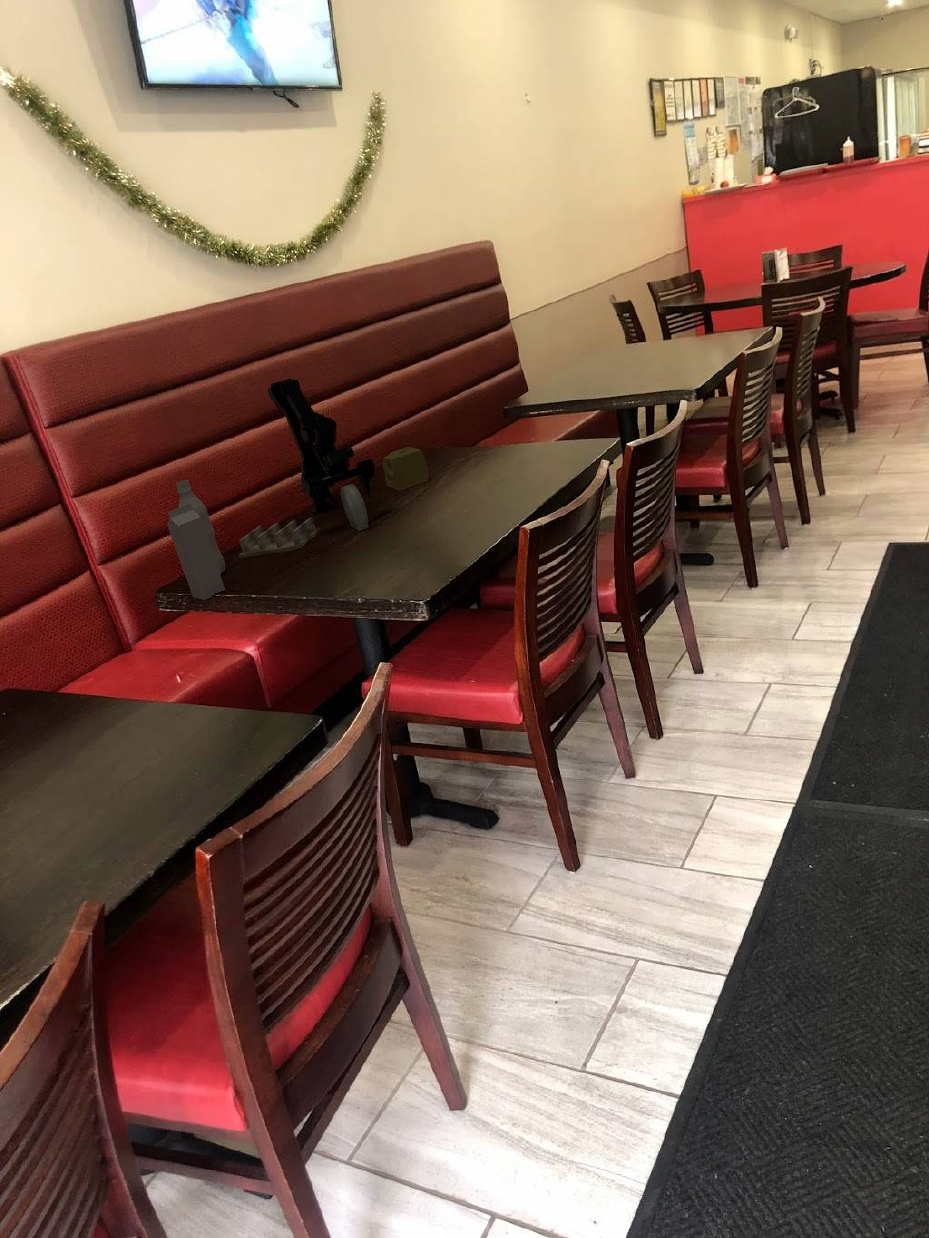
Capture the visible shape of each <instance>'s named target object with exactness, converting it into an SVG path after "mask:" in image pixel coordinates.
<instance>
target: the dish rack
mask: <svg viewBox="0 0 929 1238" xmlns="http://www.w3.org/2000/svg"><path fill="white" fill-rule="evenodd" d="M320 531H321V532H322V530H321V528H320V527H318V528H316V526H315V522H314V518H313V517H309V518H307V519H306V520H304V522H302V523H301V524H300V525H297V521H296V519H293V520H291V521H290V522H289V523H287V524H286V525H285V526H284V527H283V528H281V527H280V524H279V522H276V523H274V524H272V525H271V526H269V528H266V530H265V531H264V527H263V525H262V524H261V525H258V526H257V527H255V528H254V529H253V530H251V531H250V532H249V533H247V534H246V535H245V536H243V537H242V538H240V539H239V540H238V542H239V544H240V547H241V551H242V552H240V553H239V554H238V557H239V559H243V558H245V559H246V558H250V557H258V556H263V555H270V554H272V555H273V554H278V553H286V552H291V551H292V552H293V551H298V550H297V549H300V548H301V549H303V547H304V545H305V544H306V543H307V542H308V541H309V540H310V541H311V539H312V538H313V537H314V538H315V537H316V536H318V533H319V534H320V533H321V532H320ZM314 538H313V539H314ZM313 539H312V540H313ZM310 541H309V542H310ZM309 542H308V543H309ZM308 543H307V544H308ZM307 544H306V545H307ZM306 545H305V546H306ZM302 546H303V547H302ZM301 549H300V550H301Z"/></svg>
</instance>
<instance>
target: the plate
mask: <svg viewBox="0 0 929 1238" xmlns="http://www.w3.org/2000/svg"><path fill="white" fill-rule="evenodd" d="M340 498H341V504H342V506H343V510H344V512H345V515H346V517H347V519H348V522H349V523H350V527H352V528H354V529H356V530H357V531H359V532H360V531H362V530H366V529H368V528H369V524H368V523H369V519H368V512H367V508H366V505H365V502H364V499H363V496H362V494H361V492H360V490H359V489H358V488H357V486H356V484H353V483H350V484H348V485H347V484H346V485H344V486H341V488H340Z"/></svg>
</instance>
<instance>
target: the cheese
mask: <svg viewBox="0 0 929 1238" xmlns="http://www.w3.org/2000/svg"><path fill="white" fill-rule="evenodd" d="M382 469H383V471H384V479H385V483H386V484H385V485H386V486H387V487H388V488H392V489H394V490H397V492H401V491H404V490H407V489H410V488H412V487H415V486H418V485H421V484H423V483H427V482H430V481H429V480H430V477H429V469H428V464H427V460H426V457H425V455H424V453H423V450H422V449H419V448H416V447H415V448H414V447H411V446H406V447H403V448H399V449H396V450H394V451H391V452H390V453H389V454H388V455H386V456H384V457H383V462H382Z"/></svg>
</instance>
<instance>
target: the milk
mask: <svg viewBox="0 0 929 1238" xmlns="http://www.w3.org/2000/svg"><path fill="white" fill-rule="evenodd" d="M168 517H169V520H168V522H167V524H166V525H167V529H168V531H169V533H170V537H171V539H172V542H173V545H174V548H175V550H176V553H177V556H178V559H179V562H180V565H181V567H182V570H183V573H184V576H185V578H186V582H187V584H188V588H189V590H190V593H191V595H192V598H193V599H198V600H202V601H206V600H208V599H210V598H213V597H214V596H213V595H214V594H215V593H218V592H221V591H224V590H225V591H226V588H225V585H224V582H223V579H222V576H221V575H220V573H219V570H218V567H217V564H216V561H215V558H214V555H213V552H212V550H211V547H210V544H209V541H208V538H207V535H206V532H205V529H204V526H203V523H202V520H201V518H200V516H199V515H198V514H197V513H196V512H195V511H193V510H192V507H191V504H187V505H185V506H182V507H180V508H179V507H177V508H175V509H172V510H169V511H168ZM225 591H224V592H225ZM212 596H213V597H212Z"/></svg>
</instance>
